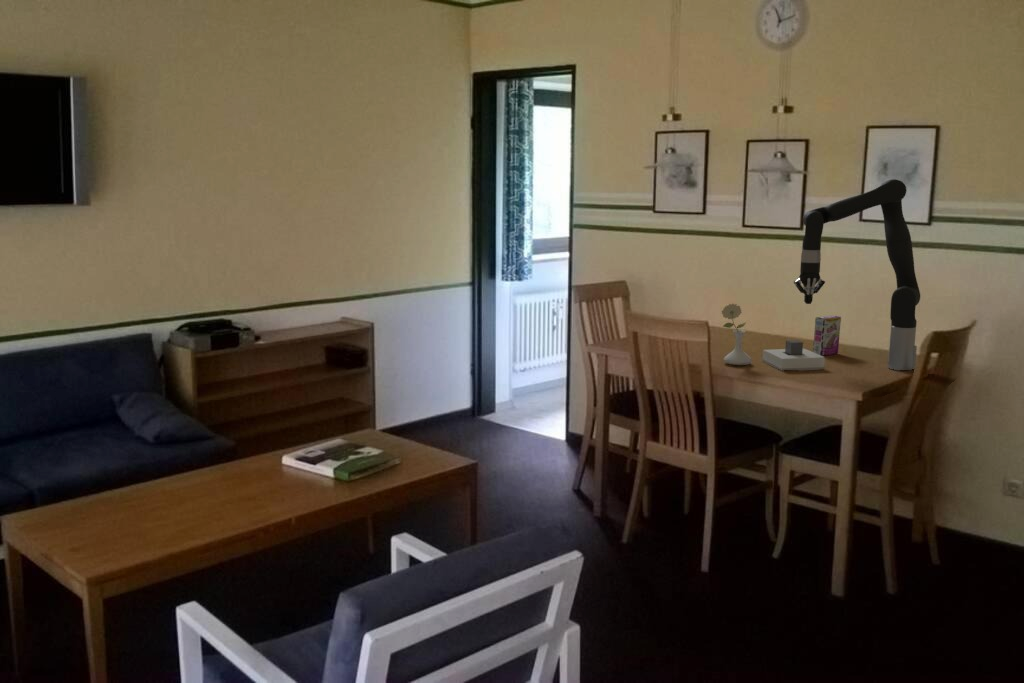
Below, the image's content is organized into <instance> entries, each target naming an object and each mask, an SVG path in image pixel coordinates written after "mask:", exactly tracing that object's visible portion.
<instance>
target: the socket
mask: <svg viewBox="0 0 1024 683" xmlns="http://www.w3.org/2000/svg"><path fill="white" fill-rule="evenodd" d="M762 362H763V363H764V362H765V363H764V364H766V363H767V364H766V365H768V364H769V365H768V366H770V365H771V366H770V367H772V366H773V367H772V368H774V367H775V368H774V369H776V368H777V370H778V369H779V371H780V370H781V371H780V372H785V371H784V370H799V371H815V370H816V371H820V369H824V370H825V362H826V359H825V356H821V355H818V354H816V353H814V352H813V351H811V350H809V349H806V348H803V351H802V355H787V354H785V348H782V349H781V348H780V349H777V348H775V349H763V350H762ZM782 370H783V371H782Z"/></svg>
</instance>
